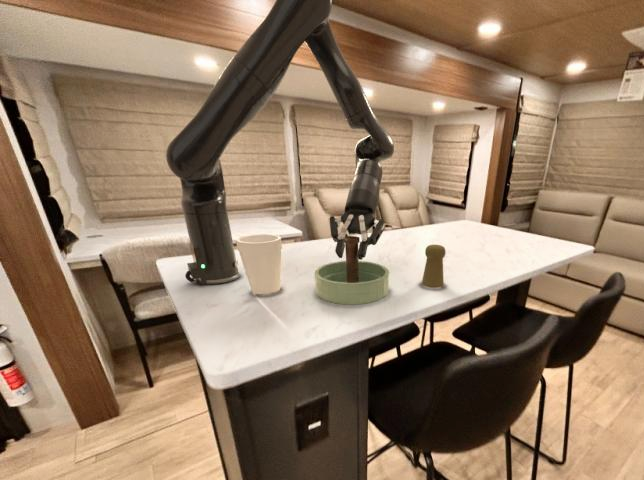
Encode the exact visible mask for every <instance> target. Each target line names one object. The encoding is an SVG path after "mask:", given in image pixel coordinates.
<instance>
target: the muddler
mask: <svg viewBox="0 0 644 480" xmlns="http://www.w3.org/2000/svg"><path fill="white" fill-rule="evenodd" d="M360 242H361V241H360V237H359V236H355V235H351V236H347V237H344V243H345V248H344V249H345V261H346V279H347V280H346V281H344V283H359V282H361V281H360V280H359V261H360V260H359V258H358V250H359V244H360Z"/></svg>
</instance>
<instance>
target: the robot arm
mask: <svg viewBox="0 0 644 480" xmlns="http://www.w3.org/2000/svg"><path fill="white" fill-rule="evenodd" d="M332 7H333V0H275V2H274V3H273V6H272V7H271V9H270V11H269V12H268V14H267V15H266V16H265V18H264V19H263V21H262V22H261V23H260V24H259V25H258V26H257V28H256V29H255V30H254V31H253V32H252V33H251V34H250V35H249V37H248V38H247V39H246V40H245V41H244V43H243V44H242V45H241V46H240V48H239V49H238V51H237V52H236V53H235V54H234V55H233V57H232V58H231V60H230V61H229V62H228V64H227V65H226V67H225V68H224V70H223V71H222V72H221V74H220V76H219V78H218V79H217V81H216V82H215V84H214V85H213V87H212V88H211V90H210V91H209V94H208V95H207V96H206V99H205V100H204V102H203V104H202V106H201V107H200V108H199V110H198V111H197V113H196V114H195V115H194V116H193V118H191V120H190V121H189V122H188V123H187V124H186V125H185V126H184V128H183V129H181V131H180V132H179V133H178V134H176V136H175V137H174V138H173V139H172V140H171V141H170V143H169V144H168V146H167V148H166V153H165V159H166V163H167V166H168V168H169V169H170V171H171V172H172V174H174V175H175V176H176V177H177V178H179V180H180V185H181V201H180V204H181V208H182V213H183V217H184V221H185V225H186V230H187V234H188V239H189V248H190V252H191V256H192V261H193V262H188V263H186V264H187V269H188V270H187V271H186V272H185V279H186V280H187V281H188V282H190V283H194V282H195V280H198V282H199V283H200V284H201V285H215V284H217V285H219V284H224V283H230V282H232V281H235V280H237V279H239V277H240V273H239V268H238V266H239V262H238V259H237V257H236V252H235V247H234V242H233V236H232V230H231V225H230V219H229V214H228V207H227V191H226V186H225V185H226V184H225V180H224V174H223V172H224V171H223V168H222V163H221V159H220V158H221V157H222V155H223V154H224V152H225V150H226V149H227V147H228V145H229V144H230V142H231V141H232V140H233V139H234V138H235V137H236V135H237V134H239V133H240V132H241V131H242V130H243V129H244V128H245V127H247V126H248V125H249V124H250V123H251V122H252V121H253V120H254V119H255V118H256V117H257V116H258V115H259V114H260V113H261V111H262V110H263V109H264V108H265V107H266V105H267V104H268V103H269V101H270V100H271V99H272V97H273V96H274V95H275V92H276V91H277V89H278V88H279V86H280V85H281V83H282V81H283V79H284V77H285V75H286V74H287V71H288V69H289V67H290V65H291V63H292V62H293V59H294V57H295V55H296V54H297V52H298V51H299V49H300V48H301V47H302V45H303V44H304V43H305V44H306V46H307V47H308V48H309V51H310V52H311V53H312V56H313V57H314V59H315V60H316V62H317V64H318V66H319V68H320V69H321V71H322V73H323V75H324V77H325V79H326V81H327V83H328V85H329V87H330V90H331V91H332V94H333V96H334V98H335V100H336V102H337V104H338V107H339V108H340V110H341V112H342V115H343V116H344V118H345V120H346V123H347V125H348V126H349V128H350V129H351V130H353V131H357V130H364V131H365V132H367V133H368V135H367V136H365V137H363V138H361V139H359V140H358V141H357V142H356V144H355V147H354V159H355V171H354V174H353V178H352V182H351V184H350V186H349V190H348V194H347V198H346V202H345V206H344V211H343V213H342V214H341V215H340V216H339V217H335V216H334V215H331V216H330V217H329V227H330V229H329V230H330V236H331V239H332V240H333V242H334V243H336V245H335V249H334V251H335V252H334V253H335V254H336V255H337V257H338V258H339V259H342V258H343V257H344V252H345V249H346V248H345V243H344V237H347V236H353V235H355V234H356V235H360V236H361V241H360V242H359V244H358V258H359V261H363V258H365V257H366V256H367V251H368V247H369V246H371V245H372V246H376V245H377V243H378V241H379V240H380V238H381V236H382V234H383V233H384V231H385V230H386V223H385V220H384V219H377V218H376V217H375V216H376V213H377V208H378V203H379V200H380V189H381V183H382V179H383V172H384V171H383V167H382V165H381V164H380V163H381V162H385V161H387V160H390V159H391V158H392V157H393V156H394V153H395V145H394V141H393V138H392V137H391V135H390V134H389V131H387V129H386V128H385V127H384V125H383V124H382V123H381V121H380V120H379V118H378V117H377V116H376V114H375V112H374V111H373V109H372V107H371V105H370V102H369V100H368V98H367V96H366V93H365V91H364V89H363V86H362V85H361V83H360V81H359V79H358V77H357V75H356V73H355V72H354V71H353V69H352V68H351V66H350V65H349V63H348V62H347V60H346V58H345V56H344V55H343V53H342V51H341V49H340V47H339V45H338V42H337V40H336V38H335V35H334V32H333V29H332V26H331V23H330V19H329V18H330V15H331V13H332ZM341 223H342V226H341ZM340 226H341V230H340V232H339V228H340ZM372 227H374V229H373V231H372V232H371V234H370V235H369V234H368V231H369V230H370V229H371V228H372Z"/></svg>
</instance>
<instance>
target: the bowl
mask: <svg viewBox="0 0 644 480" xmlns="http://www.w3.org/2000/svg"><path fill="white" fill-rule="evenodd" d="M346 280H347V279H346V260H342V261H335V262H330V263H325V264H323V265H321V266H319V267H317V268H316V269H315V271H314V281H315V293H316V295H317V297H319V298H320V299H321V300H323V301H325V302H329V303H333V304H338V305H350V306H351V305H363V304H369V303H373V302H377V301H380V300H381V299H383V298H385V297H386V296H387V295H388V294H389V291H390V271H389V269H388V268H387V267H386V266H385V265H382V264H380V263H375V262H371V261H366V260H359V280H360V281H361V282H359V283H344V281H346Z"/></svg>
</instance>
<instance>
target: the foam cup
mask: <svg viewBox="0 0 644 480" xmlns="http://www.w3.org/2000/svg"><path fill="white" fill-rule="evenodd" d="M235 244H236V249H237V252H238V253H239V256H240V260H241V262H242V265H243V268H244V271H245V275H246V277H247V280H248V281H247V282H248V284H249V287H250V291H251V293H252V295H254V296H256V297H257V296H258V295H270V294H274V293H277V292H279V291H280V290H281V289H282V288H281V286H282V284H281V282H282V279H281V278H282V277H281V276H282V249H283V243H282V236H280V235H279V234H270V233H257V234H248V235H242V236H239V237H236V239H235Z"/></svg>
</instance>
